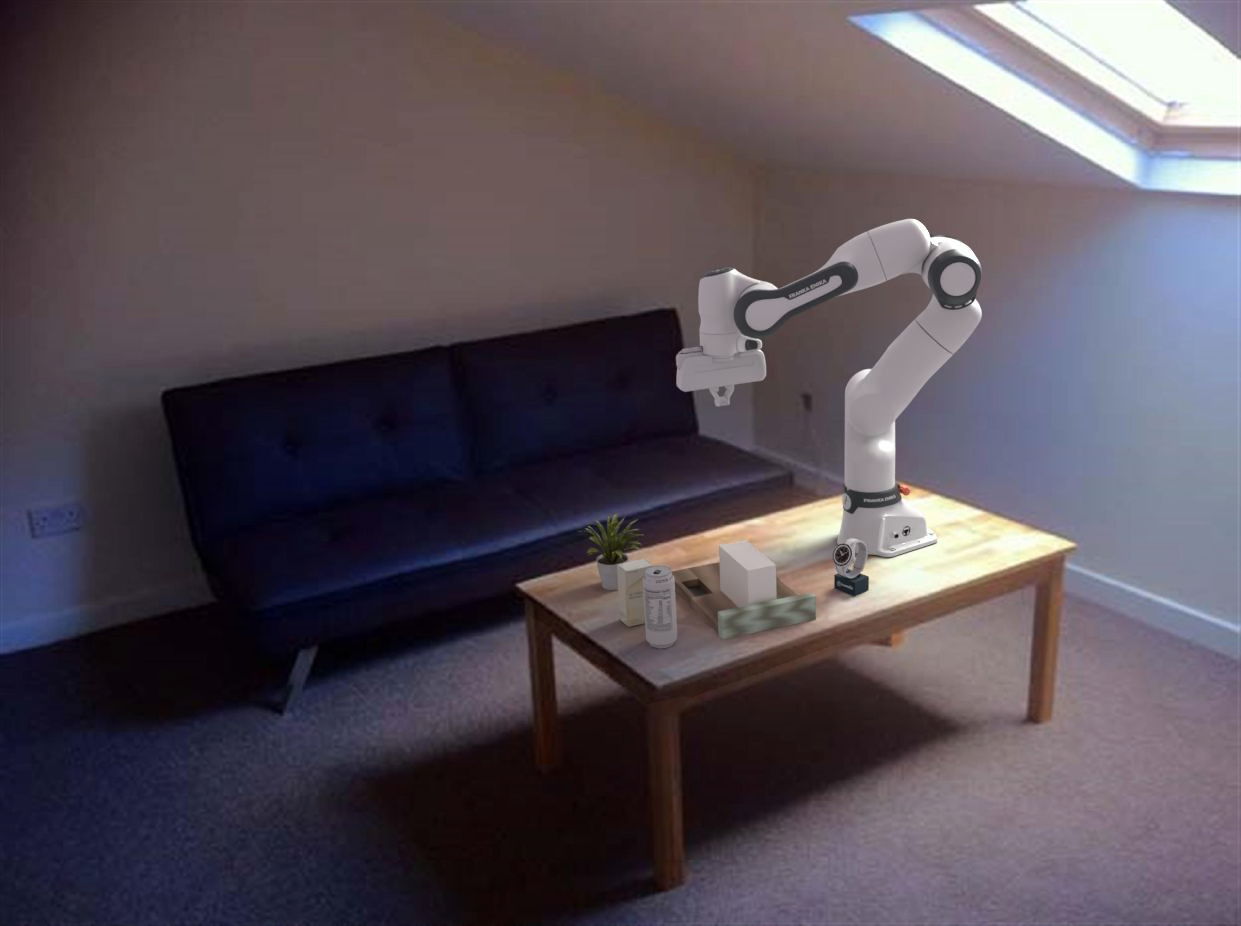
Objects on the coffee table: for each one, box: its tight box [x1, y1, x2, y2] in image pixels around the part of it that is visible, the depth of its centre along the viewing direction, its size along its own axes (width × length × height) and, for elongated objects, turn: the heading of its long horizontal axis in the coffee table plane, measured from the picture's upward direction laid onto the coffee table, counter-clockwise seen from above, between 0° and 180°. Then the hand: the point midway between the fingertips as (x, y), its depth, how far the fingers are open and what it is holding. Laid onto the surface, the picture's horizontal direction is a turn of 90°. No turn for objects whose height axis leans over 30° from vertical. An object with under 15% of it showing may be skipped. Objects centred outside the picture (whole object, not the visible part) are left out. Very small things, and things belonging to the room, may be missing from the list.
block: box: [718, 539, 777, 607], centre depth 223 cm, size 6×14×10 cm, turn 18°
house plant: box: [578, 511, 643, 591], centre depth 237 cm, size 14×14×16 cm
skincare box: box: [617, 558, 654, 628], centre depth 222 cm, size 6×4×12 cm
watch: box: [831, 538, 870, 597], centre depth 230 cm, size 6×8×11 cm
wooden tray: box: [671, 561, 817, 640], centre depth 229 cm, size 20×30×5 cm, turn 18°
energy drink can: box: [643, 565, 678, 649], centre depth 212 cm, size 6×6×15 cm
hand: (722, 405), depth 246 cm, fingers closed
